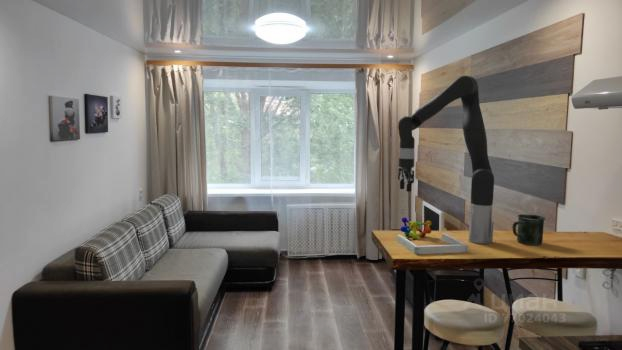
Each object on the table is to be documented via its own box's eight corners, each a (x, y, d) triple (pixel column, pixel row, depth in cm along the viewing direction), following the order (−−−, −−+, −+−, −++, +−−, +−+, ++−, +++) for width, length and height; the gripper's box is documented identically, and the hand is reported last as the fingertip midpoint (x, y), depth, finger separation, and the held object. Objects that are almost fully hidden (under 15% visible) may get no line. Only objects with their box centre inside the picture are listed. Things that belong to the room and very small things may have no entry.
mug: (549, 245, 193) (551, 218, 192) (520, 247, 190) (522, 219, 189) (531, 239, 204) (533, 213, 203) (504, 240, 201) (505, 215, 199)
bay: (444, 239, 201) (444, 233, 201) (467, 252, 181) (468, 245, 180) (397, 241, 197) (397, 234, 197) (415, 254, 177) (415, 247, 177)
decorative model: (430, 233, 196) (398, 221, 201) (425, 249, 200) (393, 237, 205) (435, 220, 207) (405, 210, 212) (430, 236, 211) (400, 225, 216)
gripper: (420, 158, 208) (418, 192, 209) (408, 156, 221) (406, 188, 223) (405, 158, 206) (403, 192, 208) (394, 156, 220) (392, 188, 222)
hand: (405, 190), depth 216 cm, fingers open, 8 cm apart
